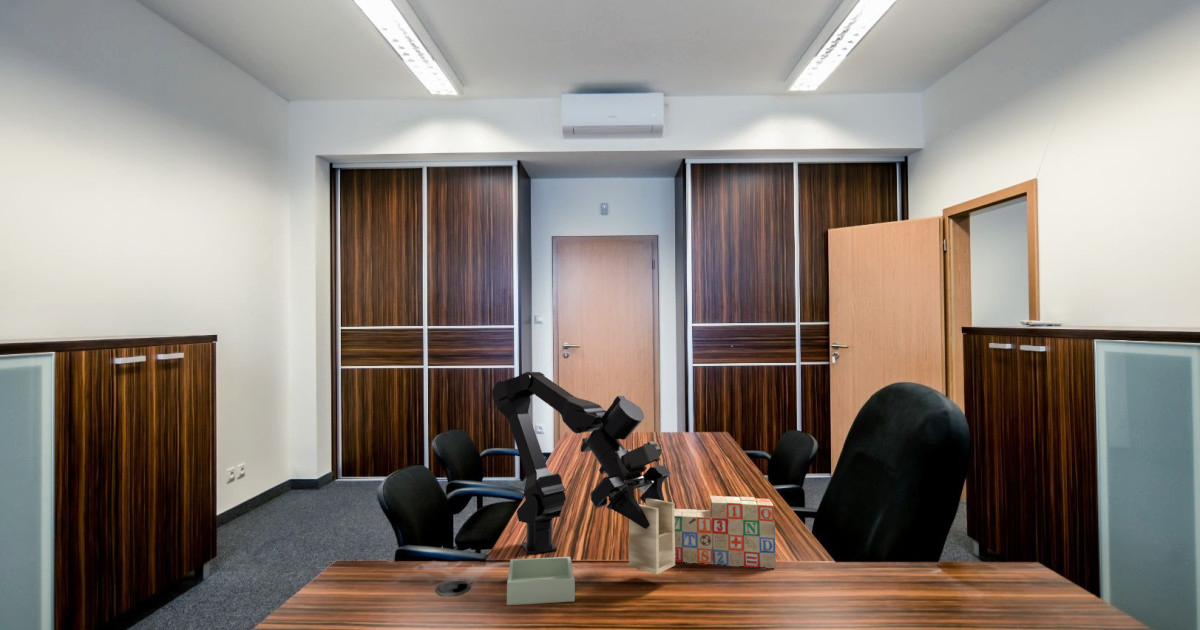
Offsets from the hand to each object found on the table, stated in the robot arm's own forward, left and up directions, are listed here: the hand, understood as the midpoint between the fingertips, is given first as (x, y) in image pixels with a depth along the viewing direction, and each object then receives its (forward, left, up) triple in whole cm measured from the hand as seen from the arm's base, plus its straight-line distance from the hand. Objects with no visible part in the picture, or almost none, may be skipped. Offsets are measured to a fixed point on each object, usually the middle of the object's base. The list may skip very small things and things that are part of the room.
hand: (658, 523), depth 94 cm
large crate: (-6, -20, -11) cm, 24 cm away
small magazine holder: (-1, -1, -8) cm, 8 cm away
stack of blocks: (-8, +18, -11) cm, 22 cm away
